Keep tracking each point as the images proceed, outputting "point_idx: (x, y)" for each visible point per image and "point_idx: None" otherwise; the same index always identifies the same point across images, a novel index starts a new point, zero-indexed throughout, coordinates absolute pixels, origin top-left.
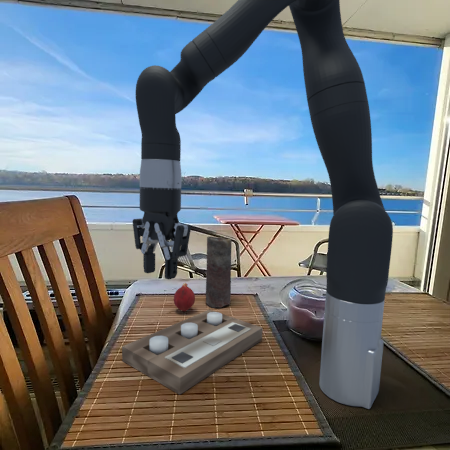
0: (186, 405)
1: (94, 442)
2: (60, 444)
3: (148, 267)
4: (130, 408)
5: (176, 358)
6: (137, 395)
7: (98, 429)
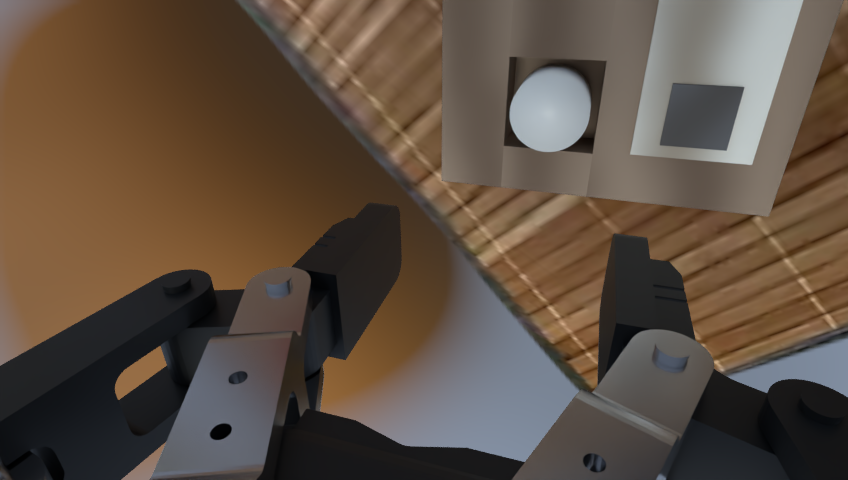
0: (805, 216)
1: None
2: None
3: (385, 277)
4: None
5: (683, 139)
6: None
7: None
